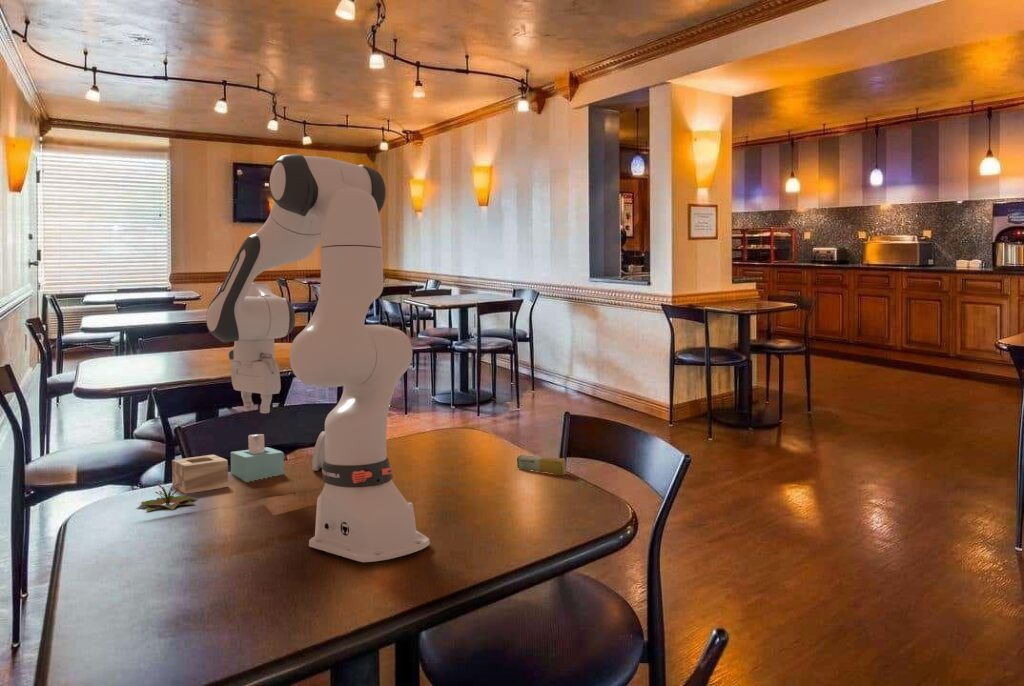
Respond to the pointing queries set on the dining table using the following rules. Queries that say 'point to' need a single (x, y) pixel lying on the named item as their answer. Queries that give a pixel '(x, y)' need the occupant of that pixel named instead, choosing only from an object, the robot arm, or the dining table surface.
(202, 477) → the block
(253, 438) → the lock pin
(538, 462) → the medication box
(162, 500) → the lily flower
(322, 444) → the mechanical component
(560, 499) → the dining table surface
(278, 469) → the teal socket
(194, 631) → the dining table surface
